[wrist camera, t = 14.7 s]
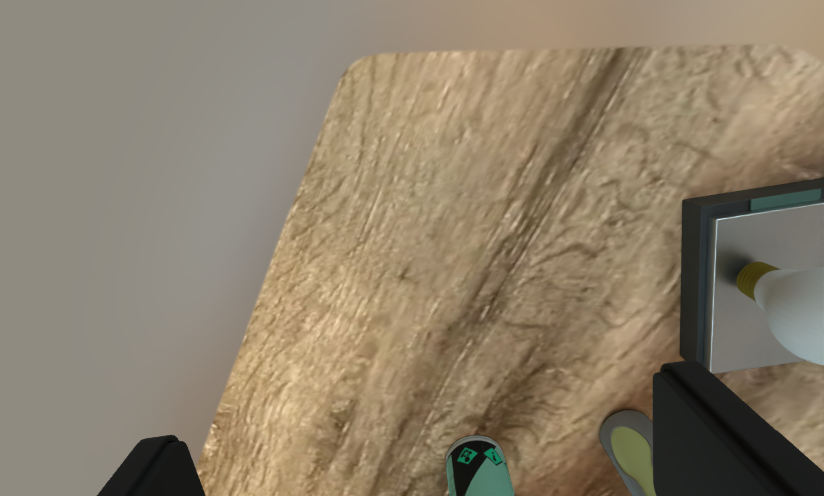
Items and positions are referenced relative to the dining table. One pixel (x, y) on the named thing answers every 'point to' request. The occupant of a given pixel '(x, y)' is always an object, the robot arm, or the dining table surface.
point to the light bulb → (789, 305)
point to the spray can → (477, 468)
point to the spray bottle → (631, 449)
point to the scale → (728, 254)
